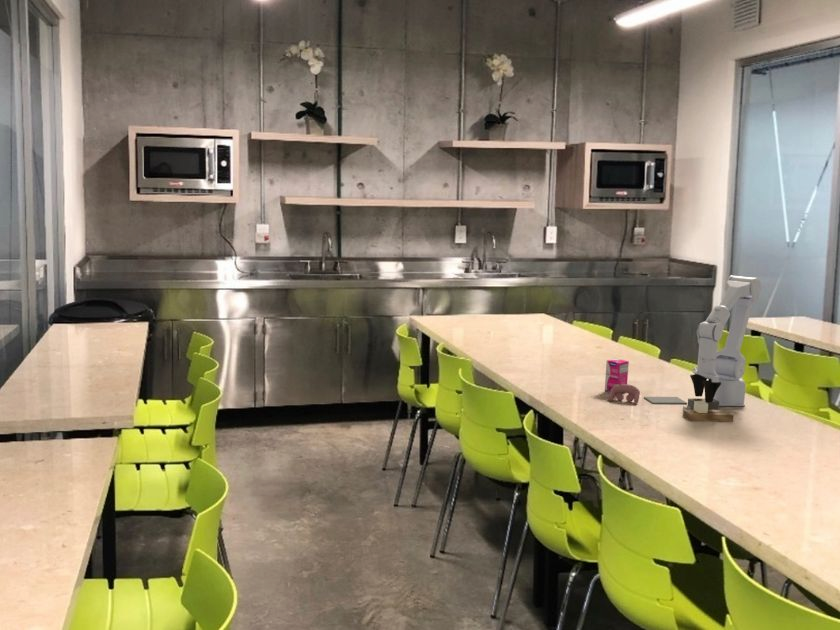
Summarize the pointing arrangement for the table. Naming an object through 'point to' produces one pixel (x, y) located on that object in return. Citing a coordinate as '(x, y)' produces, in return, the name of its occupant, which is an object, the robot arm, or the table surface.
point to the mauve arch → (625, 388)
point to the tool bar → (711, 405)
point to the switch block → (708, 415)
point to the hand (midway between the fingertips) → (703, 399)
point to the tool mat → (665, 400)
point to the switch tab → (700, 406)
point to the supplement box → (616, 373)
